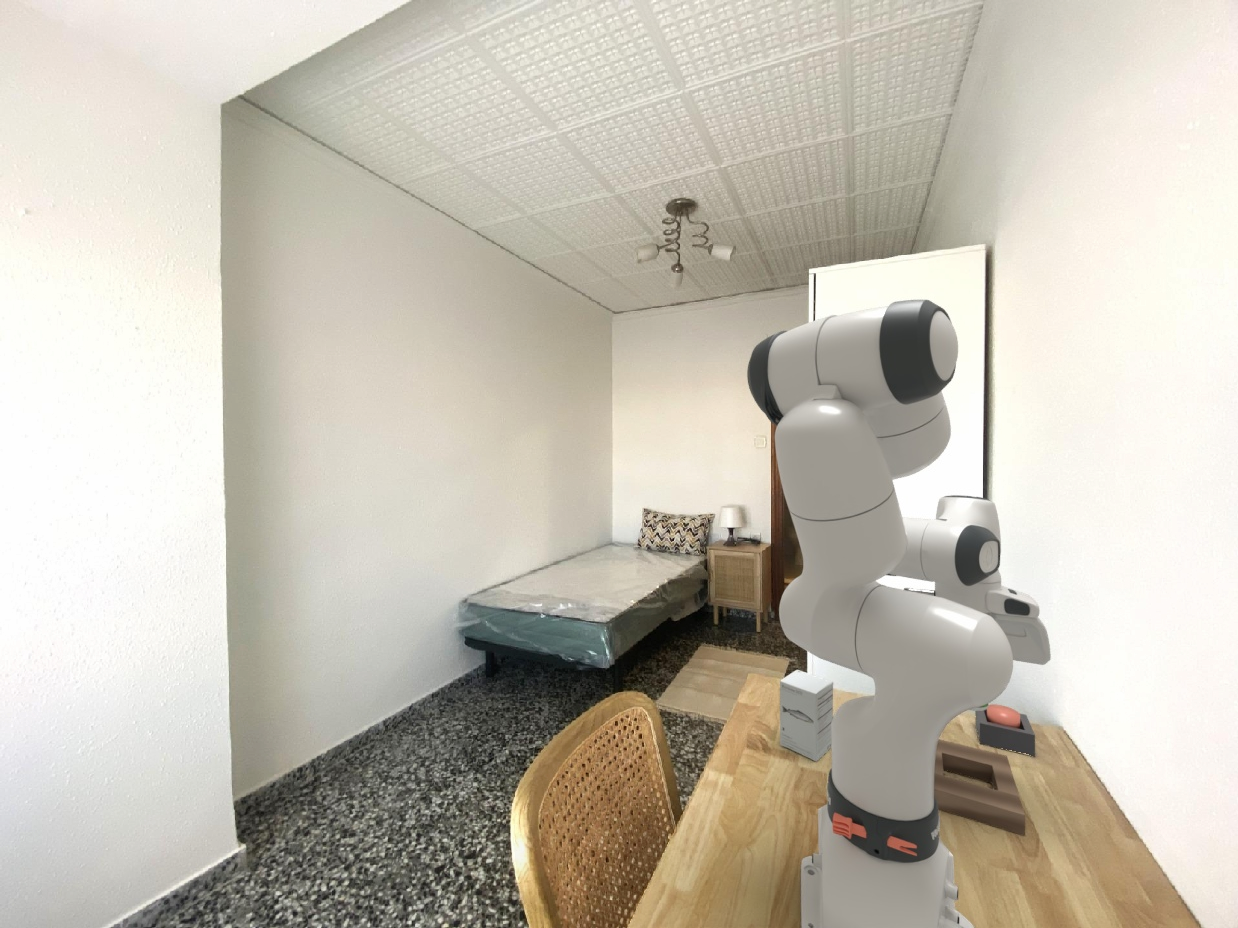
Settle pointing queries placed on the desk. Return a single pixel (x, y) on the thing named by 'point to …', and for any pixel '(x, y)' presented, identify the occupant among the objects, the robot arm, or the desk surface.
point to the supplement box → (806, 714)
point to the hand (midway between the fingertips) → (967, 678)
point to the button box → (1006, 734)
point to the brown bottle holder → (978, 787)
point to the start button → (1003, 716)
